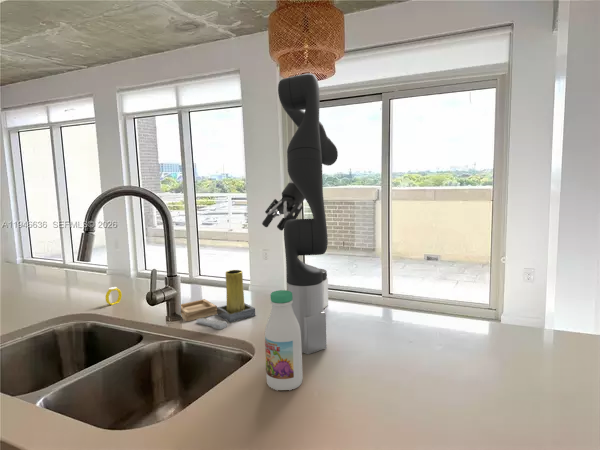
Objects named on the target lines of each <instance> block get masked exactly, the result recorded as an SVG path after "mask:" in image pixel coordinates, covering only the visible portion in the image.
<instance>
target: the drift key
mask: <svg viewBox="0 0 600 450" xmlns="http://www.w3.org/2000/svg"><path fill="white" fill-rule="evenodd" d="M195 321H196V322H195V323H196V324H199V325H203V326H207V327H210V328H211V327H212V328H213V329H216V330H223V329H224V328H227V327H228V321H224V320H212V319H208V318H205V317H203V318H199V319H195Z"/></svg>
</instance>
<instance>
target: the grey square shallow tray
mask: <svg viewBox="0 0 600 450" xmlns="http://www.w3.org/2000/svg"><path fill="white" fill-rule="evenodd" d="M216 315H217V316H218V317H221V318H222V319H224V320H225V321H226V322H229V323H231V322H232V323H233V322H236V321H240V320H243V319H247V318H251V317H255V316H256V308H255V307H253V306H251V305H250V304H247V303H245V310H242V311H238V312H234V313H229V312H227V304H226V305H222V306H217V314H216Z"/></svg>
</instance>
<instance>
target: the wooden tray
mask: <svg viewBox="0 0 600 450" xmlns="http://www.w3.org/2000/svg"><path fill="white" fill-rule="evenodd" d="M180 304H181V314H182V317H183V318H182V320H184V321H186V322H191V321H194V320H195V321H196V320H197V319H199V318H207V317H210V316H215V315H217V307H218V306H217V305H215V303H214V304H213V303H212V302H210V301H208V300H207V299H205V298H204V299H200V300H194V301H190V302H185V303H180Z"/></svg>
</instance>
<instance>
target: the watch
mask: <svg viewBox="0 0 600 450" xmlns="http://www.w3.org/2000/svg"><path fill="white" fill-rule="evenodd" d="M114 291H117V295H118V296H117V299H116V301H114V302H112V303H111V301H110V294H111V293H112V292H114ZM104 296H105V302H106V303H107V304H108V305H111V306H114V305H117V304H119V303H120V302H121V300H122V296H123V294H122V291H121V289H120V288H118V287H117V286H112V287H109V288H108V290H107V291H106V294H105V295H104Z"/></svg>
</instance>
